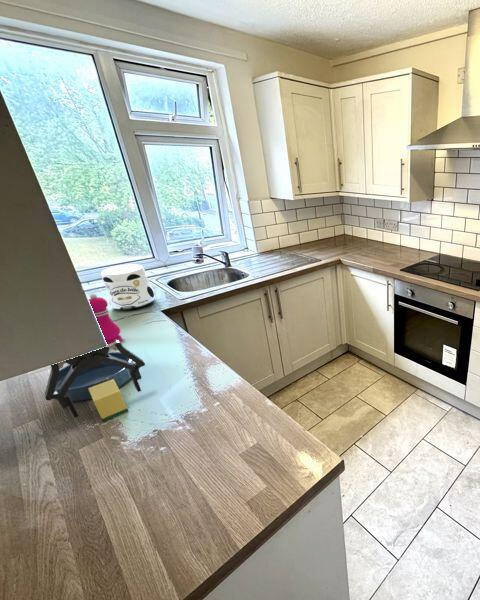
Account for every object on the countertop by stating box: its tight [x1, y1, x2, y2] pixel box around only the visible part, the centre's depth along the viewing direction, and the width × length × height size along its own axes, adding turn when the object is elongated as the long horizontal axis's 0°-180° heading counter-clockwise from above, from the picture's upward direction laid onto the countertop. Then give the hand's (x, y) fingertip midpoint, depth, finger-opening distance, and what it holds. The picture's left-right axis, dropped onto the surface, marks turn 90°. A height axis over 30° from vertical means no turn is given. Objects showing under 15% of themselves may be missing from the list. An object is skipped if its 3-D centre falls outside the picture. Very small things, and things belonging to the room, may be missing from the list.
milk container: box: [100, 264, 156, 311], centre depth 153 cm, size 17×17×18 cm
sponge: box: [88, 379, 129, 423], centre depth 90 cm, size 8×6×7 cm
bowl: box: [54, 351, 135, 402], centre depth 102 cm, size 19×19×5 cm
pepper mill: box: [88, 293, 123, 345], centre depth 121 cm, size 7×7×20 cm
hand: (108, 401), depth 91 cm, fingers open, 13 cm apart
